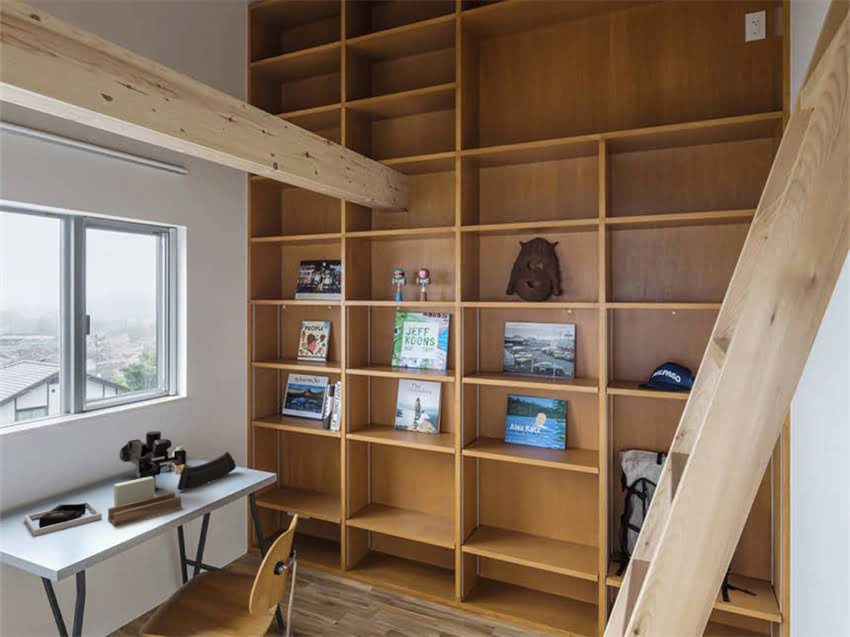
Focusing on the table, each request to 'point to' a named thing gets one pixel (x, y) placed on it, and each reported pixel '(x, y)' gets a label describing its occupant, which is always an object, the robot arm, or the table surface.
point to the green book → (134, 491)
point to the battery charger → (62, 514)
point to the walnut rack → (143, 509)
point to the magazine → (206, 472)
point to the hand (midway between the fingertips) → (169, 465)
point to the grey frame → (62, 525)
